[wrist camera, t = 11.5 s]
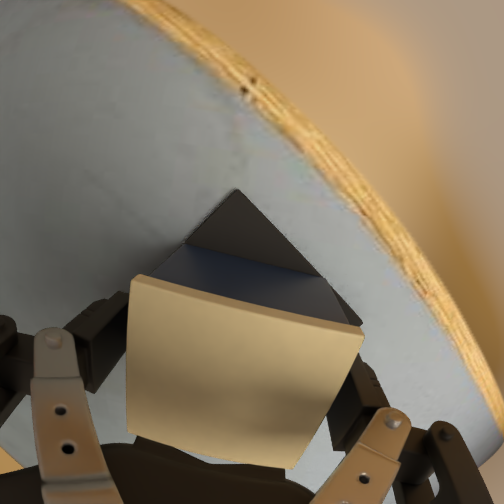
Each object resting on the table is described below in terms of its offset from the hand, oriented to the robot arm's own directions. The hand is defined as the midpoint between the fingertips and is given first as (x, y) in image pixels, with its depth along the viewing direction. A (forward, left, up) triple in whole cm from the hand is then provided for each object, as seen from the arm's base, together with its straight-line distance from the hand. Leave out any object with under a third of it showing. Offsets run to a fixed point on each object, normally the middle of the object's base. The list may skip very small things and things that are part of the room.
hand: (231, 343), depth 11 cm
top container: (0, 0, -2) cm, 2 cm away
